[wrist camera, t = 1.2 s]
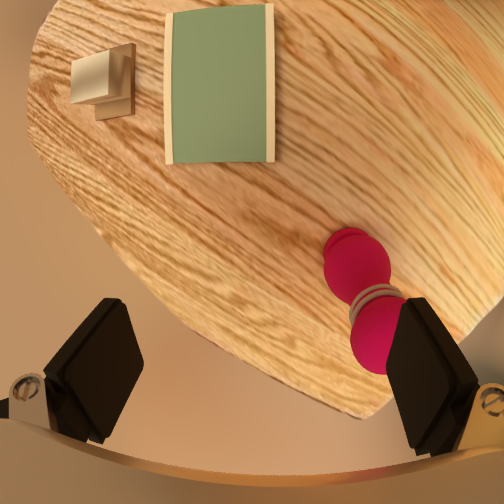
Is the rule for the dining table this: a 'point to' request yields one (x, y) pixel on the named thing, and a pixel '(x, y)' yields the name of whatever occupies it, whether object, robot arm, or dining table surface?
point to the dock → (220, 85)
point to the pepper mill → (364, 294)
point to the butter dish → (106, 82)
